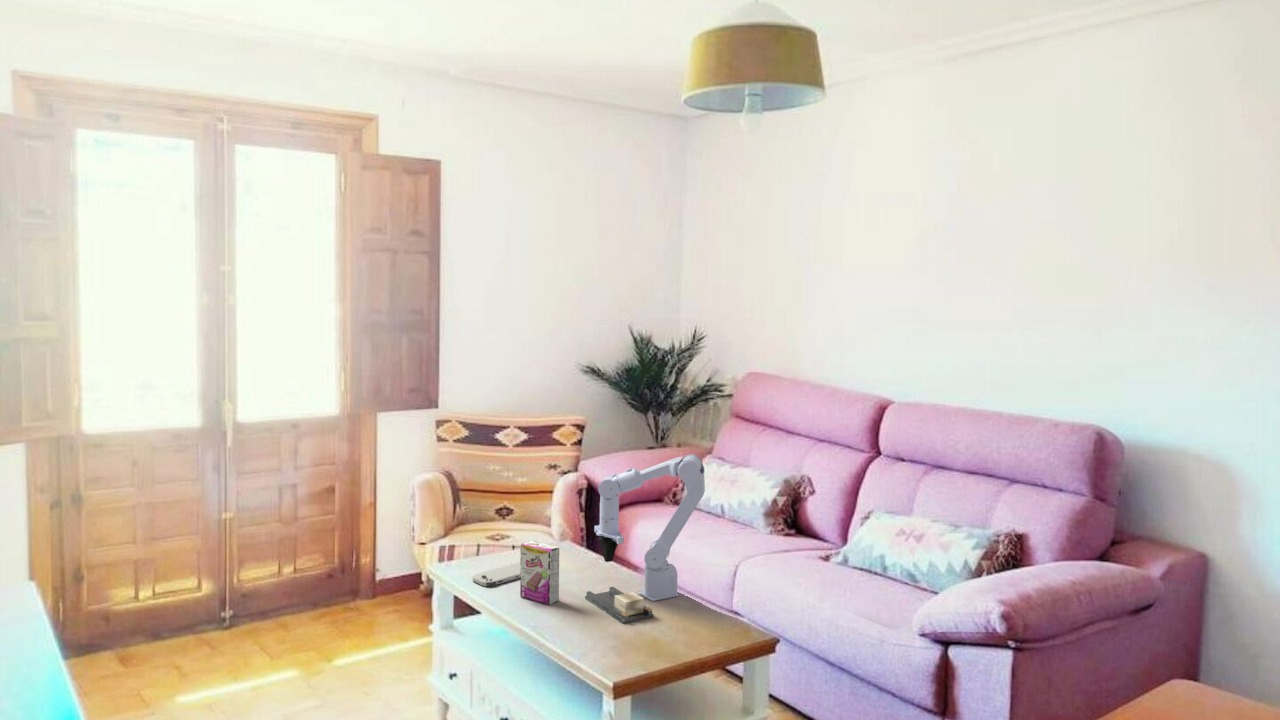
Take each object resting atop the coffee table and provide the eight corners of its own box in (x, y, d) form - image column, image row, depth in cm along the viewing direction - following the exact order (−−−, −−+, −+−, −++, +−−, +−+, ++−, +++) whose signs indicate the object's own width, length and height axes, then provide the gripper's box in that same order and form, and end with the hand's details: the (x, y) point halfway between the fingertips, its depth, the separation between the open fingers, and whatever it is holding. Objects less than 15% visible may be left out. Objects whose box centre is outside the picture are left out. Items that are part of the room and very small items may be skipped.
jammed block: (632, 605, 259) (632, 592, 258) (643, 612, 254) (643, 598, 253) (614, 609, 256) (614, 595, 255) (625, 616, 251) (625, 602, 250)
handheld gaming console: (526, 557, 296) (546, 564, 289) (526, 565, 296) (546, 572, 290) (468, 573, 280) (487, 581, 273) (468, 581, 280) (487, 590, 273)
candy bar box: (519, 597, 266) (519, 543, 264) (530, 593, 270) (530, 539, 268) (549, 606, 260) (549, 550, 258) (559, 600, 264) (560, 546, 263)
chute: (614, 592, 272) (614, 585, 271) (653, 617, 253) (653, 609, 253) (585, 598, 266) (585, 591, 266) (623, 623, 248) (623, 615, 247)
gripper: (585, 513, 274) (585, 556, 276) (609, 524, 262) (609, 570, 264) (606, 510, 278) (605, 552, 279) (630, 521, 266) (629, 566, 267)
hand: (608, 561), depth 272 cm, fingers closed
